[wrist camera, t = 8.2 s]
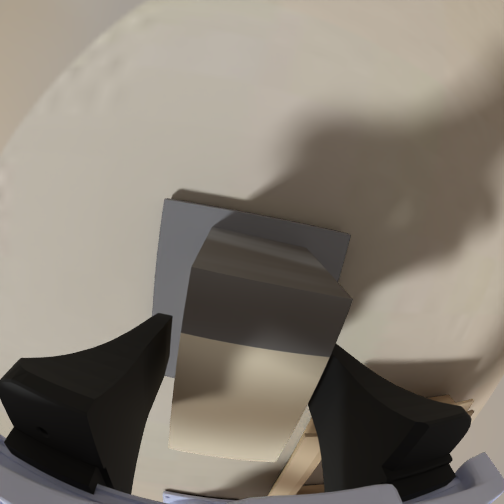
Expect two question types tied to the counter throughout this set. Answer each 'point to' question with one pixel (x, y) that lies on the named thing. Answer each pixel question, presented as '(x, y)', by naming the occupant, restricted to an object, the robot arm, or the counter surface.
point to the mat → (205, 217)
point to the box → (251, 345)
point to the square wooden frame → (319, 459)
